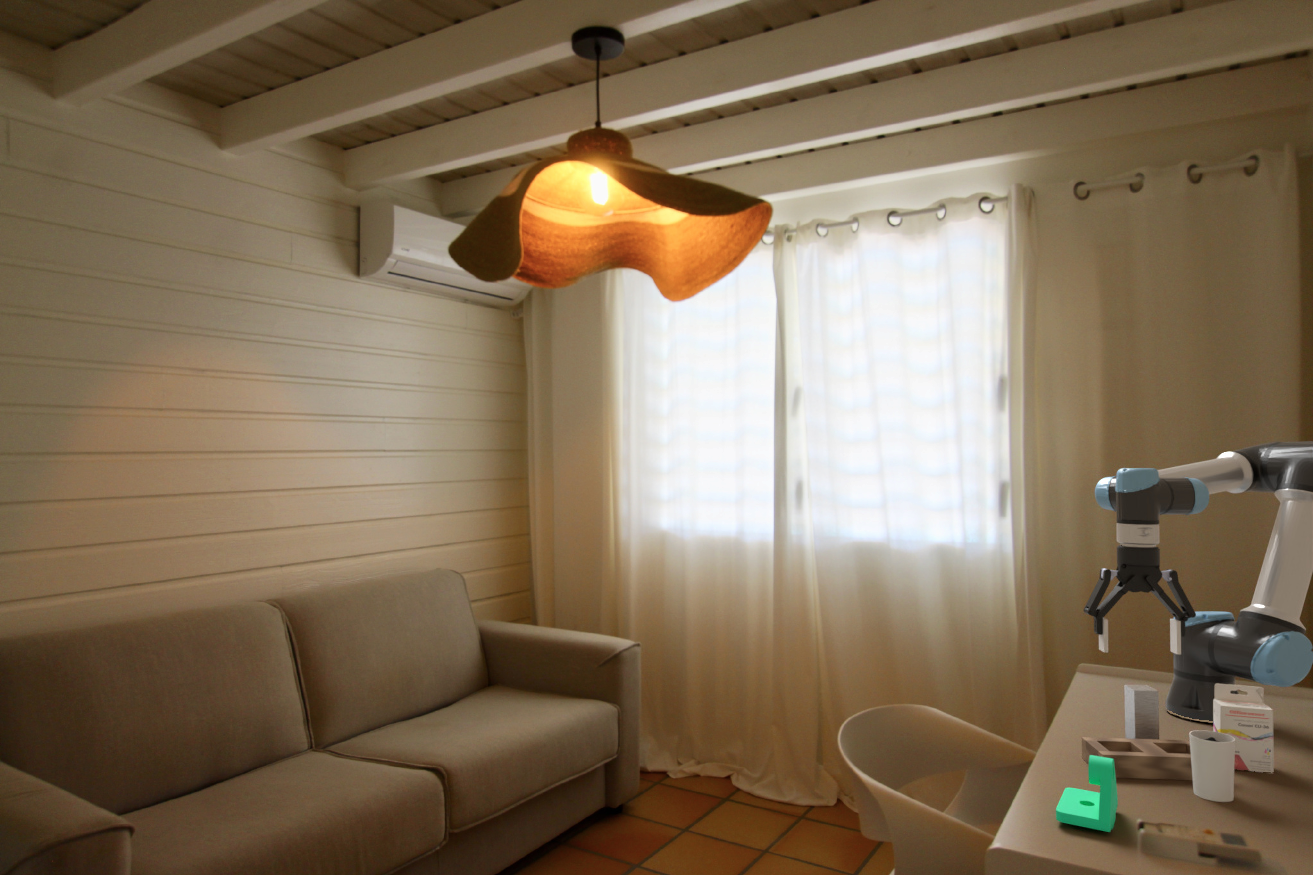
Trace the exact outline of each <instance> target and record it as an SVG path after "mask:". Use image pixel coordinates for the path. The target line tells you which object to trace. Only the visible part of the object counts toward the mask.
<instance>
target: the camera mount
mask: <svg viewBox="0 0 1313 875" xmlns="http://www.w3.org/2000/svg"><path fill="white" fill-rule="evenodd" d="M1087 770H1088V771H1087V773H1088V784H1090V785H1094V786H1099V792H1097V791H1091V790H1087V789H1086V790H1085V789H1082V788H1075V787H1065V788H1064V790H1063V792H1062V795H1061V797H1060V799H1059V801H1058V804H1057V806H1056V808H1055V819H1056V821H1058V822H1059V823H1064V824H1069V825H1073V826H1078V827H1083V828H1087V829H1092V830H1097V831H1103V832H1108V833H1111V832H1112V830H1114V826H1115V822H1116V816H1117V815H1116V814H1117V809H1118V806H1119V805H1118V803H1119V801H1118V797H1119V796H1118V787H1117V778H1116V775H1115V765H1114V759H1112V758H1106V757H1100V756H1094V755H1090V757H1089V764H1088V769H1087Z"/></svg>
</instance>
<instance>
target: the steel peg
mask: <svg viewBox="0 0 1313 875" xmlns="http://www.w3.org/2000/svg"><path fill="white" fill-rule="evenodd" d="M1123 689H1124V728H1125V729H1124V732H1125V733H1124V735H1125V737H1124V738H1128V739H1160V709H1159V708H1160V705H1159V702H1160V700H1159V689H1158V690H1157V689H1156V688H1154V687H1151V685H1149V684H1124V688H1123Z"/></svg>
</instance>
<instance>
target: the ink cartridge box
mask: <svg viewBox="0 0 1313 875" xmlns="http://www.w3.org/2000/svg"><path fill="white" fill-rule="evenodd" d="M1236 690H1238V691H1241V692H1245V693H1247V694H1240V693H1239V694H1231V693H1230V691H1236ZM1264 692H1265V688H1264V687H1262V686H1253V685H1243V684H1235V685H1232V684H1219V683H1216V684H1215V686H1214V699H1213V724H1212V725H1213V726H1212V728H1213V730H1212V731H1215V732H1220V733H1224V734H1227V735H1230V736H1232V737H1234V738H1235V761H1234V770H1236V769H1237V770H1238V771H1244V770H1248V771H1247V772H1254V771H1255V772H1256V773H1263V772H1271V773H1270V774H1273V773H1272V772H1274V770H1275V767H1274V766H1275V765H1274V764H1275V763H1274V762H1275V760H1274V758H1275V757H1274V755H1275V753H1274V750H1275V748H1274V746H1275V745H1274V711H1273V710H1274V709H1273V708H1271V707H1270V706H1269V705H1267V704H1266V703H1264V702H1265V701H1264V699H1265V698H1264V697H1265V693H1264ZM1237 770H1236V771H1237Z"/></svg>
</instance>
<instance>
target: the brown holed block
mask: <svg viewBox="0 0 1313 875" xmlns="http://www.w3.org/2000/svg"><path fill="white" fill-rule="evenodd" d="M1090 755H1094V756H1100V757H1106V758H1112V759H1114V765H1115V775H1116V779H1117V778H1118V779H1119V778H1120V779H1121V778H1123V779H1144V780H1145V779H1148V780H1149V779H1150V780H1173V781H1174V780H1176V781H1178V780H1179V781H1181V780H1183V781H1193V778H1192V765H1191V751H1190V739H1189V740H1188V739H1162V738H1161V739H1160V738H1159V739H1128V738H1125V737H1123V738H1121V737H1120V738H1119V737H1117V738H1116V737H1088V736H1086V737H1085V736H1081V759H1082V760H1083V761H1085V763H1086V764H1088V765H1089V757H1090Z"/></svg>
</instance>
